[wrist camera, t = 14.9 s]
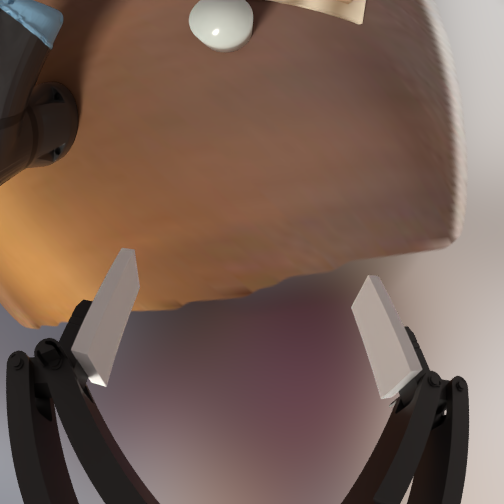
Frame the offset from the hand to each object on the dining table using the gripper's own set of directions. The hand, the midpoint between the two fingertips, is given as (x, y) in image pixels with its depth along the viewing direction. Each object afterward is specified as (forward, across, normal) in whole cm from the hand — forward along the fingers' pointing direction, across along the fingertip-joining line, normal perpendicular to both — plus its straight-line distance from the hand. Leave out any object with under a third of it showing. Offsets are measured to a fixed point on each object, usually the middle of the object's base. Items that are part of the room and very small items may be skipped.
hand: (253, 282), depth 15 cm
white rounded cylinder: (+28, -6, +18) cm, 34 cm away
